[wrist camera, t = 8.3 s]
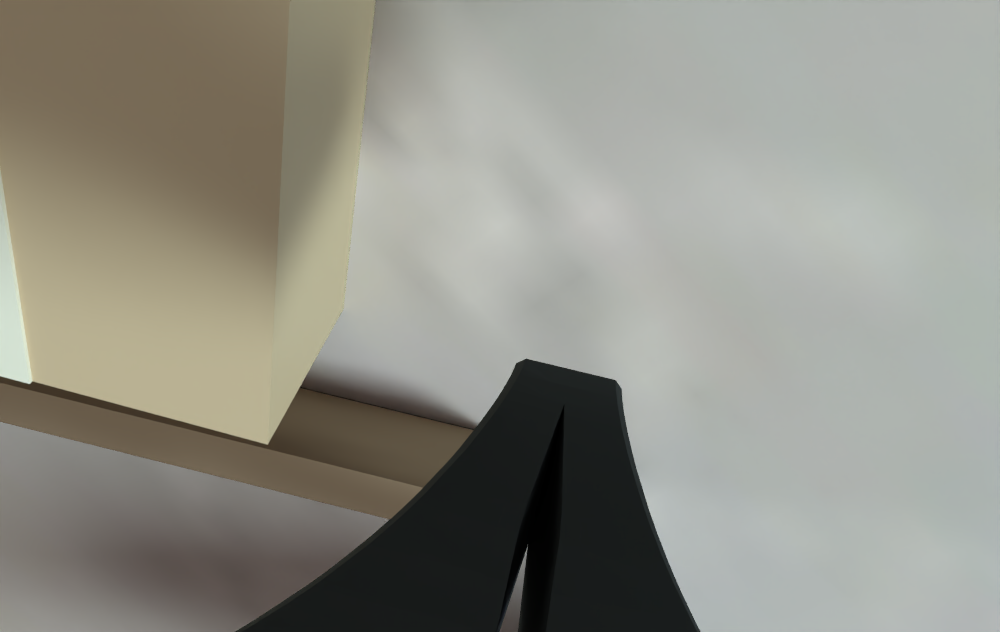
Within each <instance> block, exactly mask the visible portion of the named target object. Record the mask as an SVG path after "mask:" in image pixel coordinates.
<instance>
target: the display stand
mask: <svg viewBox="0 0 1000 632" xmlns="http://www.w3.org/2000/svg"><path fill="white" fill-rule="evenodd" d="M0 422H4V423H8V424H12V425H16V426H20V427H23V428H27V429H31V430H35V431H39V432H43V433H47V434H51V435H55V436H59V437H63V438H67V439H71V440H75V441H79V442H83V443H87V444H91V445H95V446H99V447H103V448H107V449H111V450H115V451H119V452H123V453H127V454H131V455H135V456H139V457H143V458H147V459H151V460H155V461H159V462H163V463H167V464H171V465H175V466H179V467H183V468H187V469H191V470H195V471H199V472H203V473H207V474H211V475H215V476H219V477H223V478H227V479H231V480H235V481H239V482H243V483H247V484H251V485H255V486H259V487H263V488H267V489H271V490H275V491H279V492H283V493H287V494H291V495H295V496H299V497H303V498H307V499H311V500H315V501H319V502H323V503H327V504H331V505H335V506H339V507H343V508H347V509H351V510H355V511H359V512H363V513H367V514H371V515H375V516H379V517H383V518H387V519H391V518H392V517H393V516H394V515H396V514H397V513H398V512H399V511H400V510H401V509H402V508H403V507H404V506H405V505H406V504H407V503H408V502H409V501H410V500H411V499H412V498H413V497H414V496H415V495H416V494H417V493H418V492H419V491H420V490H421V489H422V488H423V487H424V486H425V485H426V484H427V483H428V482H429V481H430V480H431V479H432V478H433V477H434V475H435V474H436V473H437V472H438V471H439V470H440V469H441V468H442V467H443V466H444V465H445V464H446V463H447V462H448V461H449V459H450V458H451V457H452V456H453V455H454V454H455V453H456V451H457V450H458V449H459V448H460V447H461V445H462V444H463V443H464V442H465V440H466V439H467V438H468V437H469V435H470V434H471V433H472V432H473V430H471V429H467V428H462V427H458V426H454V425H450V424H446V423H442V422H438V421H434V420H430V419H425V418H421V417H417V416H413V415H409V414H405V413H401V412H397V411H393V410H389V409H384V408H380V407H376V406H372V405H368V404H364V403H360V402H356V401H352V400H347V399H343V398H339V397H335V396H331V395H327V394H323V393H319V392H315V391H311V390H306V389H302V388H299V389H298V391H297V393H296V395H295V397H294V398H293V400H292V402H291V404H290V406H289V407H288V409H287V411H286V413H285V415H284V416H283V418H282V420H281V422H280V424H279V425H278V427H277V429H276V431H275V432H274V434H273V436H272V438H271V440H270V441H269V443H268V445H267V444H263V443H260V442H256V441H252V440H249V439H245V438H241V437H237V436H234V435H230V434H226V433H223V432H219V431H215V430H211V429H208V428H204V427H200V426H197V425H193V424H189V423H186V422H182V421H178V420H174V419H171V418H167V417H163V416H160V415H156V414H152V413H148V412H145V411H141V410H137V409H134V408H130V407H126V406H122V405H119V404H115V403H111V402H108V401H104V400H100V399H96V398H93V397H89V396H85V395H82V394H78V393H74V392H70V391H67V390H63V389H59V388H56V387H52V386H48V385H44V384H41V383H37V382H33V381H32V382H31V383H30V384H27V383H24V382H20V381H16V380H13V379H9V378H5V377H2V376H0Z"/></svg>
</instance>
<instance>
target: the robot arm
mask: <svg viewBox="0 0 1000 632" xmlns="http://www.w3.org/2000/svg"><path fill="white" fill-rule="evenodd" d="M527 546H528V550H527V558H526V567H525V576H524V584H523V593H522V602H521V611H520V620H519V629H518V632H700V630H699V628H698V626H697V624H696V622H695V620H694V618H693V616H692V614H691V612H690V610H689V608H688V606H687V603H686V601H685V599H684V597H683V595H682V593H681V591H680V588H679V586H678V584H677V582H676V579H675V577H674V575H673V572H672V570H671V568H670V565H669V563H668V560H667V558H666V555H665V553H664V550H663V547H662V545H661V542H660V540H659V537H658V534H657V532H656V529H655V526H654V523H653V520H652V517H651V515H650V512H649V509H648V506H647V502H646V499H645V496H644V493H643V489H642V486H641V483H640V479H639V476H638V473H637V469H636V466H635V462H634V458H633V454H632V450H631V446H630V441H629V437H628V432H627V427H626V422H625V416H624V410H623V402H622V389H621V388H620V386H619V385H618V383H617V382H616V380H612V379H608V378H604V377H600V376H596V375H592V374H587V373H583V372H579V371H575V370H571V369H567V368H562V367H558V366H554V365H550V364H546V363H542V362H537V361H533V360H529V359H525V360H523V361H520V362H518V363H516V365H515V368H514V370H513V372H512V374H511V376H510V378H509V380H508V382H507V384H506V385H505V387H504V389H503V390H502V392H501V393H500V395H499V396H498V398H497V400H496V401H495V402H494V404H493V405H492V407H491V408H490V409H489V411H488V412H487V414H486V415H485V416H484V418H483V419H482V421H481V422H480V423H479V424H478V425H477V427H476V428H475V429H474V430H473V432H472V433H471V434H470V435H469V437H468V438H467V439H466V440H465V442H464V443H463V444H462V445H461V447H460V448H459V449H458V450H457V451H456V453H455V454H454V455H453V456H452V457H451V458H450V459H449V461H448V462H447V463H446V464H445V465H444V466H443V467H442V468H441V469H440V470H439V471H438V472H437V473H436V474H435V475H434V477H433V478H432V479H431V480H430V481H429V482H428V483H427V484H426V485H425V486H424V487H423V488H422V489H421V490H420V491H419V492H418V493H417V494H416V495H415V496H414V497H413V498H412V499H411V500H410V501H409V502H408V503H407V504H406V505H405V506H404V507H403V508H402V509H401V510H400V511H399V512H398V513H397V514H396V515H394V516H393V517H392V518H391V519H390V520H389V521H388V522H387V523H386V524H384V525H383V526H382V527H381V528H380V529H379V530H378V531H376V532H375V533H374V534H373V535H372V536H371V537H370V538H368V539H367V540H366V541H365V542H363V543H362V544H361V545H360V546H358V547H357V548H356V549H355V550H353V551H352V552H351V553H350V554H348V555H347V556H346V557H345V558H343V559H342V560H341V561H340V562H338V563H337V564H336V565H335V566H333V567H332V568H331V569H329V570H328V571H327V572H325V573H324V574H322V575H321V576H320V577H318V578H317V579H316V580H314V581H313V582H311V583H310V584H309V585H307V586H306V587H304V588H303V589H301V590H300V591H298V592H297V593H295V594H293V595H292V596H290V597H289V598H287V599H286V600H284V601H283V602H281V603H280V604H278V605H277V606H275V607H274V608H272V609H271V610H269V611H268V612H266V613H265V614H263V615H262V616H260V617H259V618H257V619H256V620H254V621H252V622H251V623H249V624H247V625H246V626H244V627H242V628H241V629H239V630H237V631H236V632H499V631H500V628H501V625H502V622H503V619H504V616H505V613H506V610H507V607H508V604H509V601H510V598H511V595H512V592H513V588H514V585H515V582H516V579H517V576H518V573H519V570H520V567H521V564H522V561H523V558H524V555H525V552H526V549H527Z"/></svg>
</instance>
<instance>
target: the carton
mask: <svg viewBox="0 0 1000 632" xmlns="http://www.w3.org/2000/svg"><path fill="white" fill-rule="evenodd" d="M375 1H376V0H0V376H2V377H5V378H9V379H13V380H16V381H20V382H24V383H27V384H30V383H31V382H32V381H33V382H37V383H41V384H44V385H48V386H52V387H56V388H59V389H63V390H67V391H70V392H74V393H78V394H82V395H85V396H89V397H93V398H96V399H100V400H104V401H108V402H111V403H115V404H119V405H122V406H126V407H130V408H134V409H137V410H141V411H145V412H148V413H152V414H156V415H160V416H163V417H167V418H171V419H174V420H178V421H182V422H186V423H189V424H193V425H197V426H200V427H204V428H208V429H211V430H215V431H219V432H223V433H226V434H230V435H234V436H237V437H241V438H245V439H249V440H252V441H256V442H260V443H263V444H267V445H268V443H269V441H270V440H271V438H272V436H273V434H274V432H275V431H276V429H277V427H278V425H279V424H280V422H281V420H282V418H283V416H284V415H285V413H286V411H287V409H288V407H289V406H290V404H291V402H292V400H293V398H294V397H295V395H296V393H297V391H298V389H299V388H300V386H301V384H302V382H303V381H304V379H305V377H306V375H307V373H308V372H309V370H310V368H311V366H312V364H313V363H314V361H315V359H316V357H317V355H318V354H319V352H320V350H321V348H322V347H323V345H324V343H325V341H326V339H327V338H328V336H329V334H330V332H331V330H332V329H333V327H334V325H335V323H336V321H337V320H338V318H339V316H340V314H341V312H342V311H343V309H344V299H345V289H346V280H347V270H348V261H349V251H350V241H351V232H352V222H353V213H354V203H355V193H356V184H357V174H358V165H359V155H360V145H361V136H362V126H363V117H364V107H365V97H366V88H367V78H368V69H369V59H370V49H371V40H372V30H373V21H374V11H375Z"/></svg>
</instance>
